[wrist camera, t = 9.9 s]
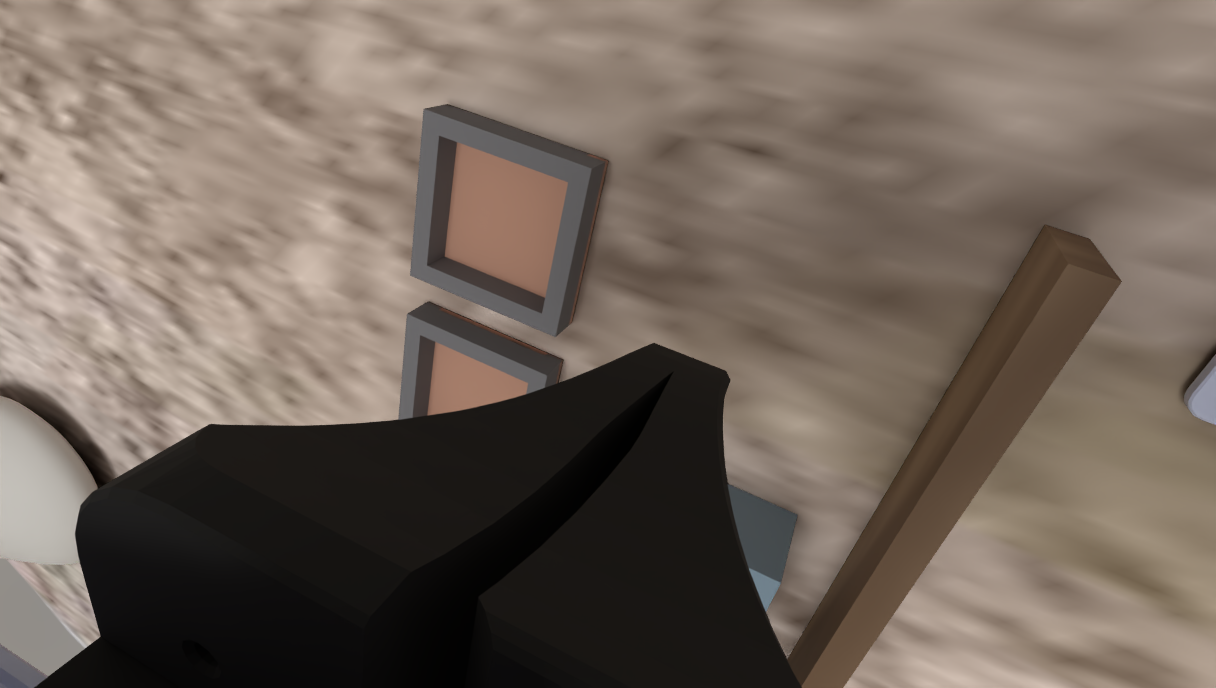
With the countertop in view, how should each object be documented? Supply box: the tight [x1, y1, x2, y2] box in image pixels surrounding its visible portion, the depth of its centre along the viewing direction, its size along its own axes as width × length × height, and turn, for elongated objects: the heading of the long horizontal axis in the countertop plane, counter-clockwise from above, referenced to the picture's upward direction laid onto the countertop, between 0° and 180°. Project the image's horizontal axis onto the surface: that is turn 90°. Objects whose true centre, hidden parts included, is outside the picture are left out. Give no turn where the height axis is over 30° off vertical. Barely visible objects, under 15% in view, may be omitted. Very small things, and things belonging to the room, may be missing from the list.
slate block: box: [728, 484, 797, 611], centre depth 24 cm, size 8×8×4 cm
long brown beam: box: [787, 225, 1122, 688], centre depth 21 cm, size 12×22×3 cm, turn 166°
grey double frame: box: [398, 104, 608, 420], centre depth 23 cm, size 6×12×1 cm, turn 166°
